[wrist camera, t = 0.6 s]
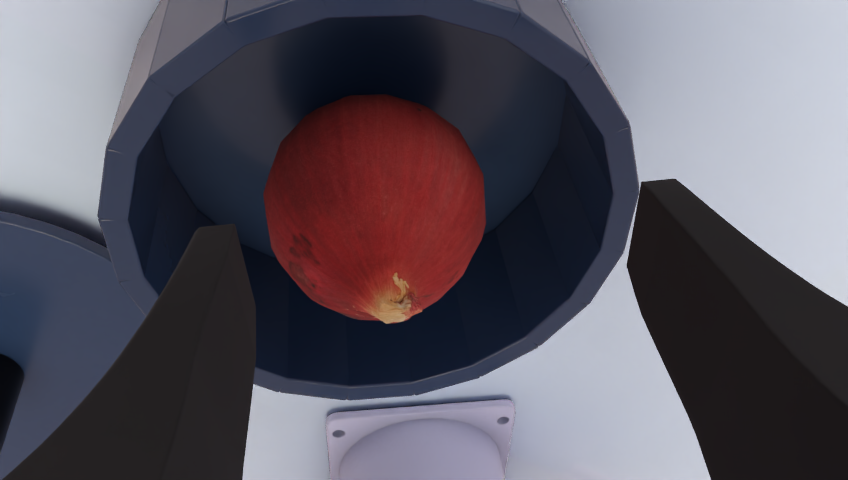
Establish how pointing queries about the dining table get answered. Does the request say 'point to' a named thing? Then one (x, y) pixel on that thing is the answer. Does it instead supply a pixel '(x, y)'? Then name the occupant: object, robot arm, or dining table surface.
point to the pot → (368, 75)
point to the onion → (375, 206)
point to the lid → (53, 329)
